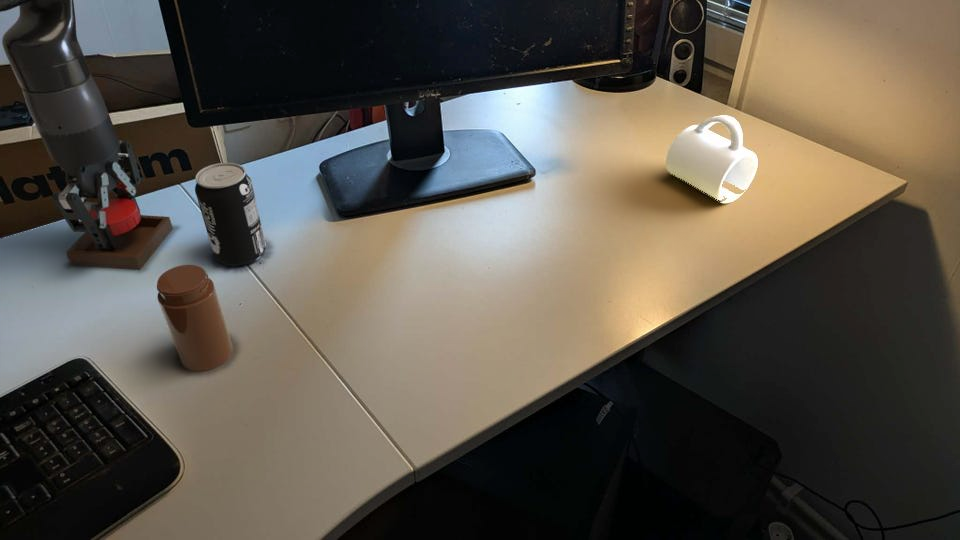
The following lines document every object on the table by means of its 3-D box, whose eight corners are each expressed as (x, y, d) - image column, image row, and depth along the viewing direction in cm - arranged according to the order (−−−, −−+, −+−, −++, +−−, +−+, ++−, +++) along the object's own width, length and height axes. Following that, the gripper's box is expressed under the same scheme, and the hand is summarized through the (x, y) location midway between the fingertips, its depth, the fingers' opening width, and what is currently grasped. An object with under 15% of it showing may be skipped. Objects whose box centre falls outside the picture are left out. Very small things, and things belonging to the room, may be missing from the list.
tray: (71, 265, 85) (65, 252, 83) (109, 224, 92) (104, 212, 91) (140, 269, 84) (135, 257, 83) (173, 228, 91) (169, 216, 90)
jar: (172, 369, 71) (142, 294, 64) (193, 334, 75) (167, 260, 68) (221, 373, 70) (196, 297, 64) (240, 338, 75) (218, 263, 68)
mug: (696, 166, 107) (714, 96, 100) (749, 194, 100) (772, 121, 93) (660, 180, 103) (675, 108, 96) (712, 210, 97) (733, 136, 89)
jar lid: (116, 205, 89) (111, 194, 88) (151, 216, 87) (146, 204, 86) (80, 229, 85) (75, 217, 83) (116, 240, 83) (111, 228, 82)
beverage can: (205, 254, 87) (181, 174, 79) (249, 233, 91) (230, 155, 83) (232, 276, 83) (209, 194, 76) (277, 253, 87) (259, 173, 80)
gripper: (67, 149, 71) (121, 270, 81) (133, 91, 82) (173, 205, 92) (1, 146, 71) (63, 267, 82) (75, 89, 82) (121, 202, 93)
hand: (121, 234), depth 87 cm, fingers closed on jar lid, 6 cm apart
